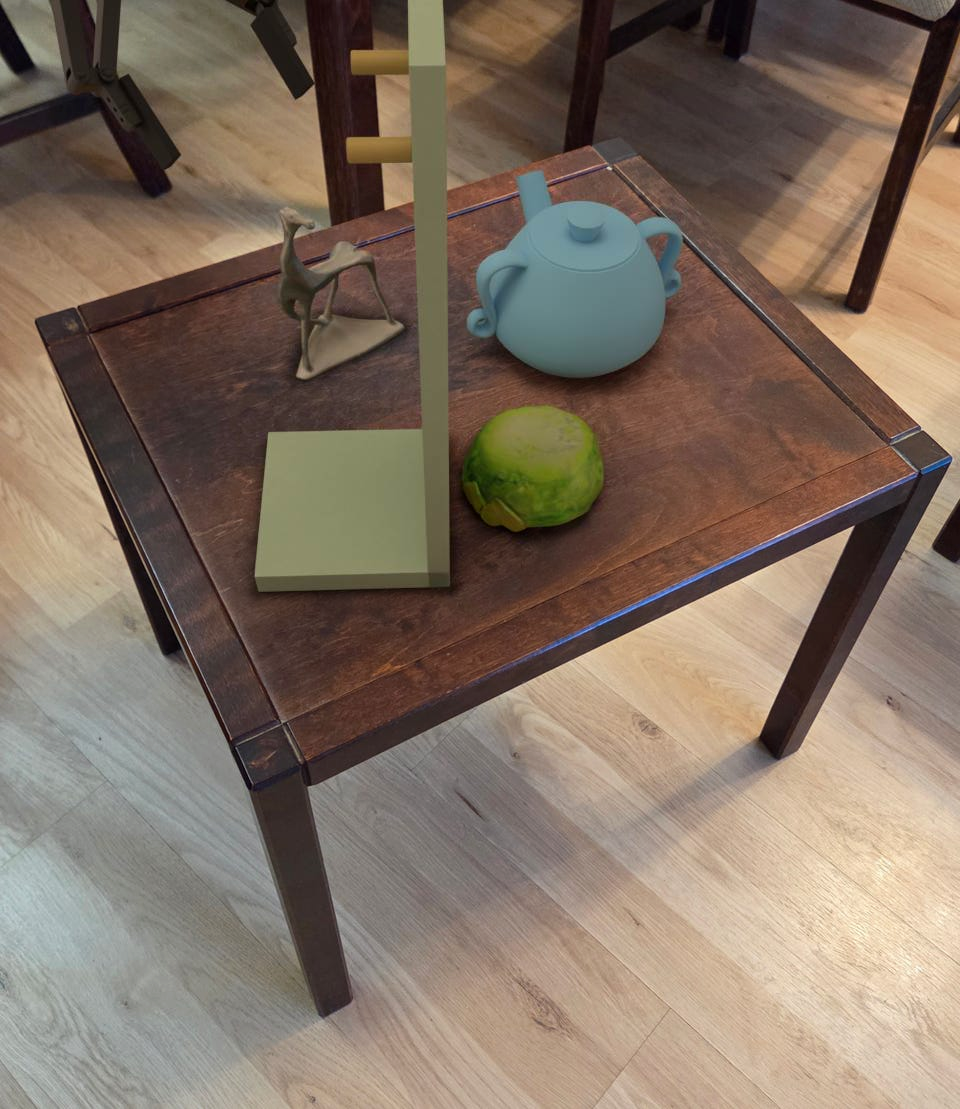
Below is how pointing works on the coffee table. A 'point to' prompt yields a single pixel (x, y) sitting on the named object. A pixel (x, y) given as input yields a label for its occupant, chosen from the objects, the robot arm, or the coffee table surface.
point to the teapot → (576, 285)
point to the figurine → (331, 333)
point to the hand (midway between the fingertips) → (241, 126)
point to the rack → (378, 455)
